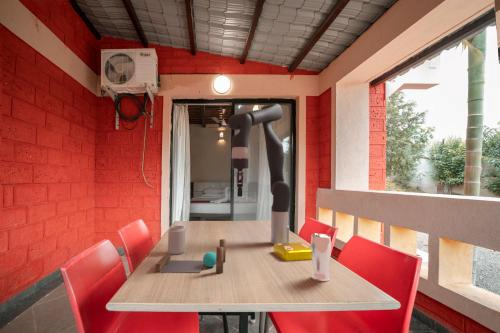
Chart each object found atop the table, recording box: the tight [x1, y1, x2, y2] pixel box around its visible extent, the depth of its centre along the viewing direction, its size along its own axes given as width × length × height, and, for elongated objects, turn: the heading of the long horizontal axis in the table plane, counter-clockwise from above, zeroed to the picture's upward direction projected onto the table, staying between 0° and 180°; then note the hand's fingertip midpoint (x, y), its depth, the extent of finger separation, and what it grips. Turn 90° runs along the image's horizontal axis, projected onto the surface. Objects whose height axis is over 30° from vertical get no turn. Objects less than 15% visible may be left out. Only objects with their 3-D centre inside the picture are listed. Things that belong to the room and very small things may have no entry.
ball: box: [202, 251, 216, 268], centre depth 106 cm, size 6×6×6 cm
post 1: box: [218, 238, 227, 264], centre depth 113 cm, size 3×3×9 cm
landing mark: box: [160, 259, 205, 274], centre depth 106 cm, size 14×14×1 cm
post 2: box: [215, 246, 224, 275], centre depth 100 cm, size 3×3×9 cm
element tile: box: [273, 242, 312, 262], centre depth 124 cm, size 15×15×5 cm
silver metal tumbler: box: [310, 233, 332, 282], centre depth 96 cm, size 7×7×15 cm
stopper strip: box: [155, 252, 172, 274], centre depth 106 cm, size 2×14×3 cm, turn 1°
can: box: [167, 225, 186, 256], centre depth 125 cm, size 8×8×12 cm
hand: (239, 196), depth 122 cm, fingers closed
